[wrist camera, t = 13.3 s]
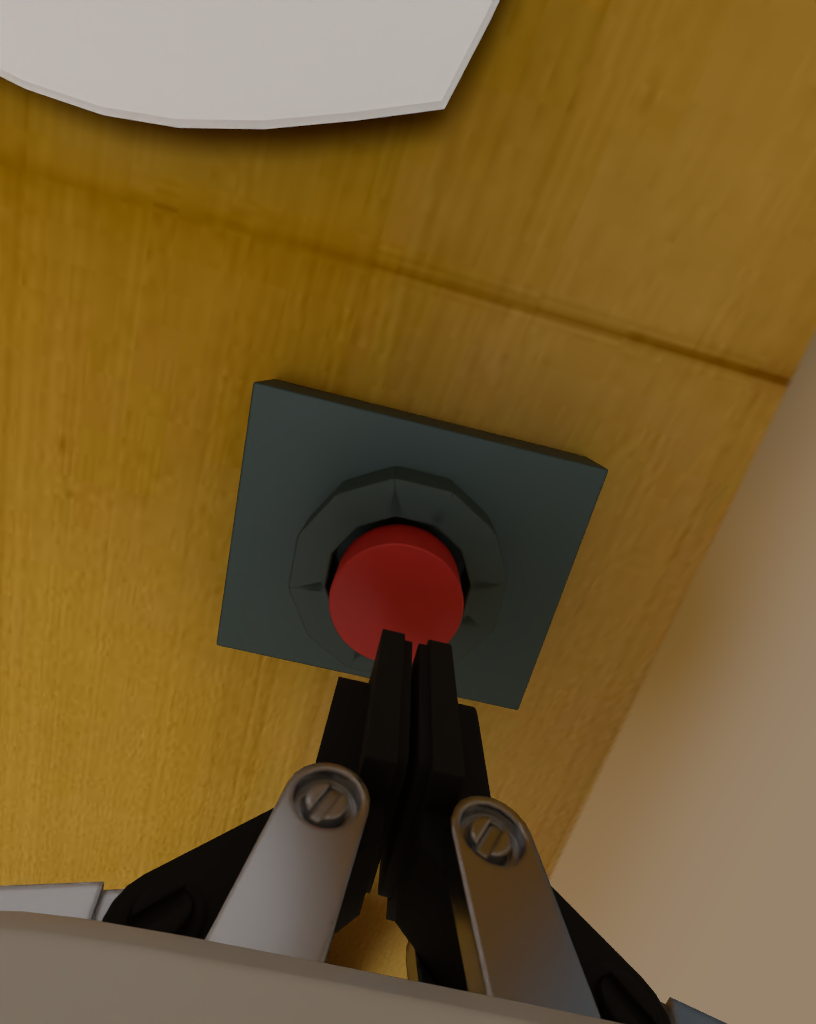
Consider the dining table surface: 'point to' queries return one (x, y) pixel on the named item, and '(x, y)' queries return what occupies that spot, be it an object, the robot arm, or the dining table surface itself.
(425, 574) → the stop button
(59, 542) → the dining table surface
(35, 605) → the dining table surface
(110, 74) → the plate
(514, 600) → the block
